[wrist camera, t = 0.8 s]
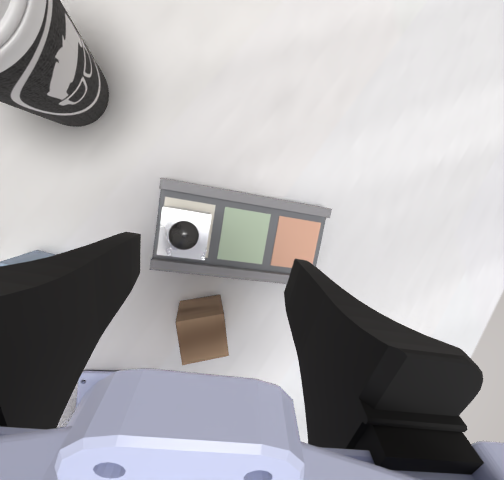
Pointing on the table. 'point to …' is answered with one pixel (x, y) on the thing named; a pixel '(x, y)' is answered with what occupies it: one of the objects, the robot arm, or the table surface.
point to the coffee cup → (48, 64)
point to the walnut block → (201, 329)
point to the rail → (244, 233)
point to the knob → (183, 233)
